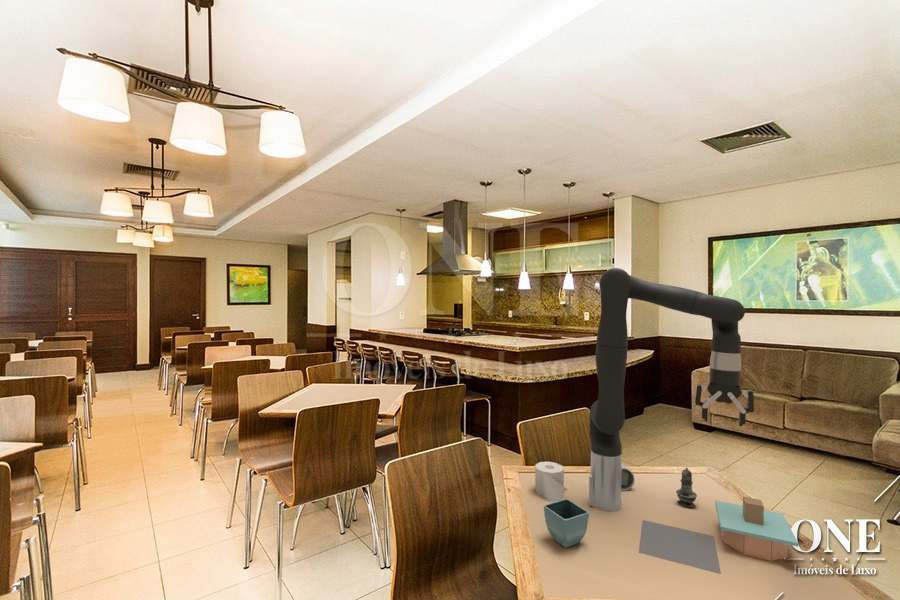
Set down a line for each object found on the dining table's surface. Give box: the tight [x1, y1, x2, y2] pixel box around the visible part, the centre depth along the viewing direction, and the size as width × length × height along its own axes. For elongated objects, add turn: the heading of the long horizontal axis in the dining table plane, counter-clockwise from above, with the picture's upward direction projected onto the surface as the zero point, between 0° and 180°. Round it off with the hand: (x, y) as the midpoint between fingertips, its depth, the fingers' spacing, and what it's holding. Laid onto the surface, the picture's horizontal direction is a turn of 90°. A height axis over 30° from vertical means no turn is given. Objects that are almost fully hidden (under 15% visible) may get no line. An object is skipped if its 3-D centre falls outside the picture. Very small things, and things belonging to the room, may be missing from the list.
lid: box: [714, 496, 800, 547], centre depth 114 cm, size 16×16×6 cm
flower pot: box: [543, 498, 590, 549], centre depth 115 cm, size 9×9×9 cm
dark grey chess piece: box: [675, 467, 698, 509], centre depth 136 cm, size 6×6×12 cm
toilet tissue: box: [534, 461, 568, 503], centre depth 142 cm, size 9×13×9 cm
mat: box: [638, 519, 722, 575], centre depth 114 cm, size 18×18×1 cm
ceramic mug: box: [621, 463, 635, 492], centre depth 150 cm, size 11×8×8 cm
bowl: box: [720, 529, 789, 562], centre depth 114 cm, size 14×14×6 cm
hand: (722, 423), depth 123 cm, fingers open, 8 cm apart
